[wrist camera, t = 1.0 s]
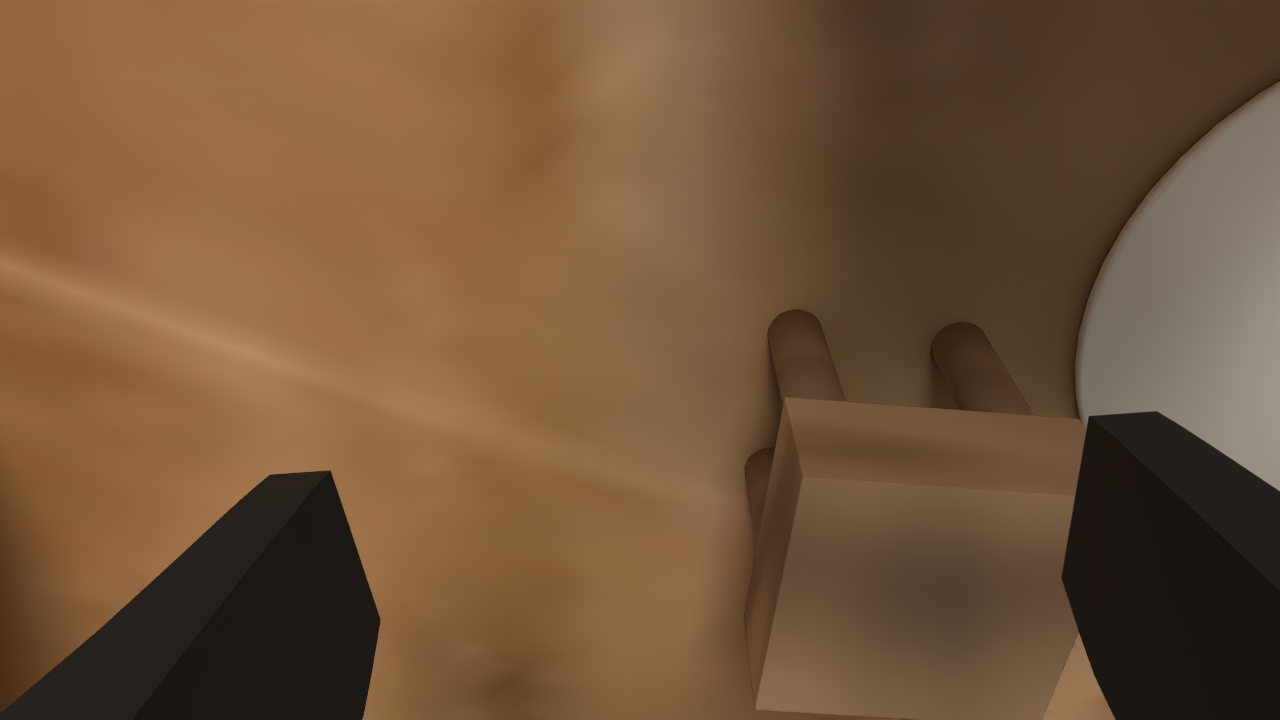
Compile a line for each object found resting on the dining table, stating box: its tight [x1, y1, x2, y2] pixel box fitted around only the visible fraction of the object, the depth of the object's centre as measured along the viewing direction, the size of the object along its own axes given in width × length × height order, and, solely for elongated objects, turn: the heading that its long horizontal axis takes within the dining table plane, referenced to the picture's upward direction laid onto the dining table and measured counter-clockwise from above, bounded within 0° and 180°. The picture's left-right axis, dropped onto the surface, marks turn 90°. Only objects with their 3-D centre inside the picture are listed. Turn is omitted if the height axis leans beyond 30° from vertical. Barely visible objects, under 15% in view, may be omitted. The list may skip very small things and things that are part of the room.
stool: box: [744, 310, 1086, 720], centre depth 19 cm, size 5×5×6 cm
